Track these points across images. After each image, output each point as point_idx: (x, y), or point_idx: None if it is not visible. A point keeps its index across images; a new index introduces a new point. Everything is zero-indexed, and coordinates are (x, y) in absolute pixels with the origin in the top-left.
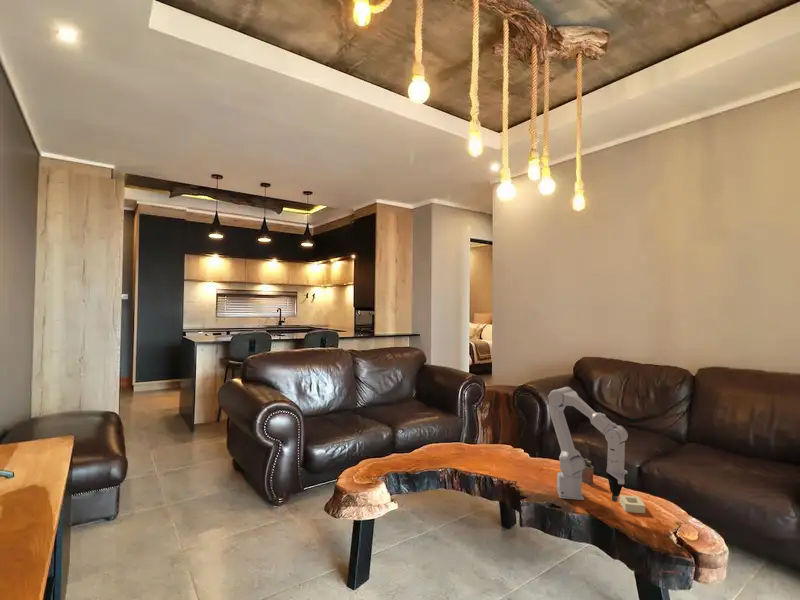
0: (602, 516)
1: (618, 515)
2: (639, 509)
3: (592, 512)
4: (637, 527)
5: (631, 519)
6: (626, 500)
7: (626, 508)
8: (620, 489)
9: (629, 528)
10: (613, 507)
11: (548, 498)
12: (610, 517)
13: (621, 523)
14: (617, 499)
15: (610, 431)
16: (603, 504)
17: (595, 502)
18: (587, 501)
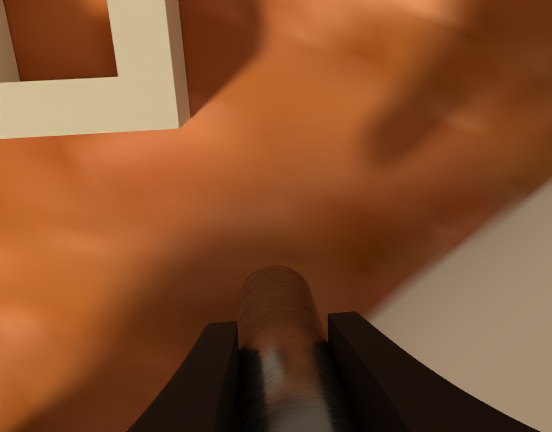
0: None
1: (288, 204)
2: None
3: None
4: (479, 76)
5: (338, 94)
6: (70, 89)
7: (183, 109)
8: (440, 387)
9: (503, 158)
10: (136, 218)
11: None
12: (341, 280)
13: (428, 208)
14: (299, 285)
15: None
16: (106, 299)
17: (92, 360)
18: (98, 419)
